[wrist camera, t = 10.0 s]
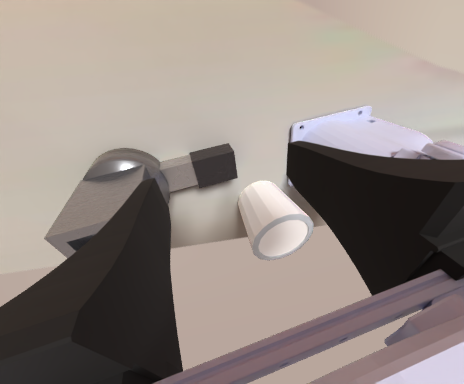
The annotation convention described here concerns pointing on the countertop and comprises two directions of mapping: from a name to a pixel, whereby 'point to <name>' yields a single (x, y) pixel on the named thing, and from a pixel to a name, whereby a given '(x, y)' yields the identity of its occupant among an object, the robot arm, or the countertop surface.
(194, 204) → the countertop surface
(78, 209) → the socket
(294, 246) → the shot glass
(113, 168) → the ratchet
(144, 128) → the countertop surface
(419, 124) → the countertop surface
